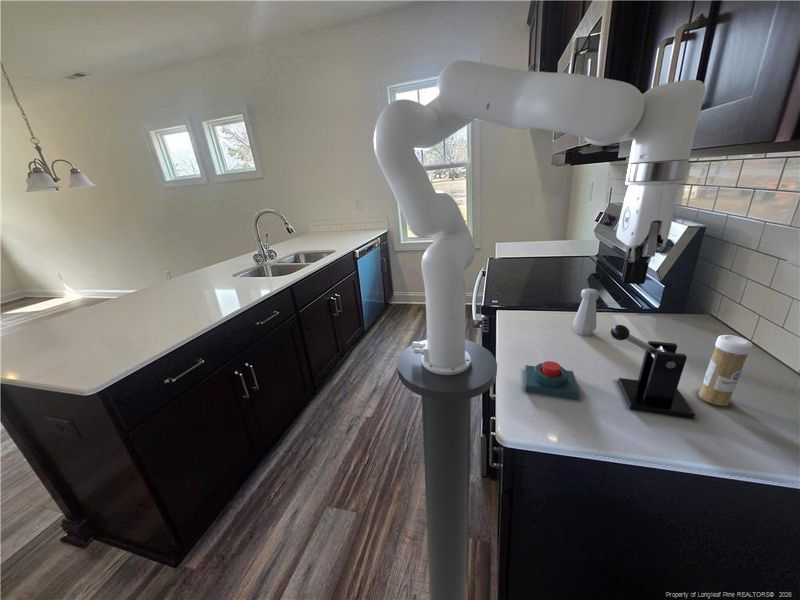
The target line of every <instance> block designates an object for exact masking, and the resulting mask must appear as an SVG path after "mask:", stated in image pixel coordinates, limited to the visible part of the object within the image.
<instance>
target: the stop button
mask: <svg viewBox="0 0 800 600" xmlns="http://www.w3.org/2000/svg"><path fill="white" fill-rule="evenodd" d="M542 363H543V366H542V372H543V374H545V375H547V376H551V377H558V376H559V375H560V371H561V367H562V366H561V364H559V363H558V362H555V361H551V360H548V361H547V360H546V361H544V362H542Z"/></svg>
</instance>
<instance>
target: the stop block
mask: <svg viewBox="0 0 800 600" xmlns="http://www.w3.org/2000/svg"><path fill="white" fill-rule="evenodd" d="M543 363H544V362H541V363H537V365H529V364H526V365H524V366H525V367H524V387H525V390H524V391H525V392H526V393H533V394H537V395H545V396H551V397H557V398H558V397H559V398H565V399H572V400H578V398H579V390H578V389H579V388H578V386H577V382H576V378H575V374H574V371H573V370H568V369H567V370H566V368H564V367H563V366H561V371H560V375H559V376H558V377H551V376H547V375H545V374H543V372H542V366H543Z"/></svg>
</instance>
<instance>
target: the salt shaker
mask: <svg viewBox="0 0 800 600" xmlns="http://www.w3.org/2000/svg"><path fill="white" fill-rule="evenodd" d="M580 297H581V298H582V300H581V302H580V305H579V307H578V310H577V313H576V315H575V317H574V320H573V323H572V325H573V328H574V330H575V334H578V335H580V336H590V335H592V334H593V332H594V331H595V330H597V326H598V325H597V300H599V297H600V292H599V290H598V289H595V288H589V287H587V288H584V289H582V290H581V293H580Z"/></svg>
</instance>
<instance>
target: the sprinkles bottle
mask: <svg viewBox="0 0 800 600" xmlns="http://www.w3.org/2000/svg"><path fill="white" fill-rule="evenodd" d="M714 345H715V348H714V351H713V353H712V356H711V358H710V361H709V364H708V366H707V370H706V372H705V375H704V378H703V382H702V386H701V388H700V390H699V392H698V396H699V398H700V399H702V400H703V401H705V402H707V403H709V404H710V405H714V406H719V407H720V406H721V407H726V406H729V405H730V402H731V398H732V395H733V392H734V391H735V389H736V387H737V384H738V381H739V379H740V377H741V374H742V370H743V368H744V365H745V362H746V361H747V360H746V359H747V357H748V356H749V354H751V351H752V348H753V343H752V342H751V341H750V340H748V339H746V338H743V337H742V336H741V337H740V336H737V335H732V334H722V335H719V336H718V337H717V339H716V341H715V344H714Z"/></svg>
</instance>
